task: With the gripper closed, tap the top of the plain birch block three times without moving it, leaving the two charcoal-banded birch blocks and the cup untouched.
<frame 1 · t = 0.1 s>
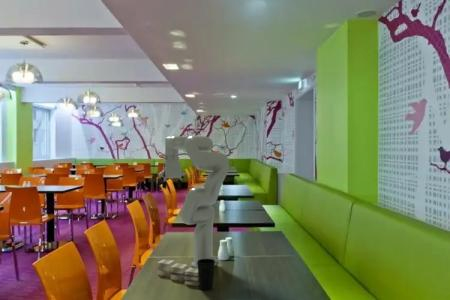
hand: (171, 187, 244), 37 cm above the table, tool pointing down, fingers open, 9 cm apart
banded block one: (179, 278, 198), on the table
cup: (206, 289, 184), on the table
banded block two: (193, 283, 191), on the table
plain block: (165, 273, 204), on the table
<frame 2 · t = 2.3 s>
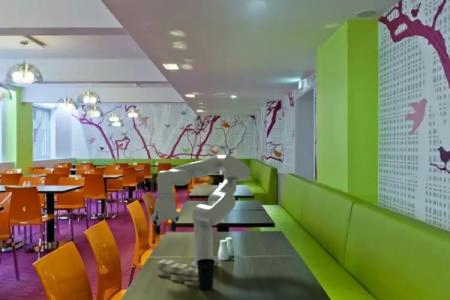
hand: (165, 232, 204), 20 cm above the table, tool pointing down, fingers open, 8 cm apart
nothing on the table moved.
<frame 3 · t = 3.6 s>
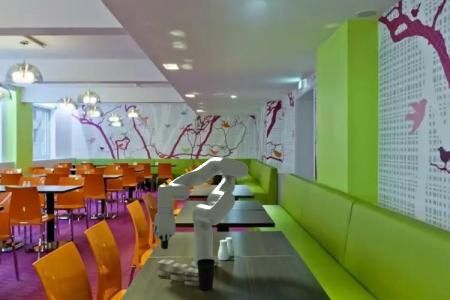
hand: (164, 248, 204), 12 cm above the table, tool pointing down, fingers closed
nothing on the table moved.
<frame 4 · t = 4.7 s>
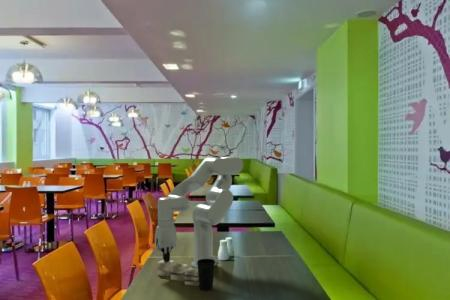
hand: (166, 260, 204), 6 cm above the table, tool pointing down, fingers closed
nothing on the table moved.
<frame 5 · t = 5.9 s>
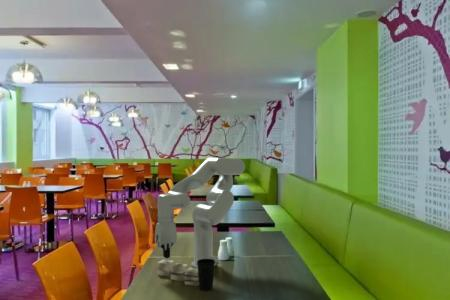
hand: (166, 257, 204), 8 cm above the table, tool pointing down, fingers closed
nothing on the table moved.
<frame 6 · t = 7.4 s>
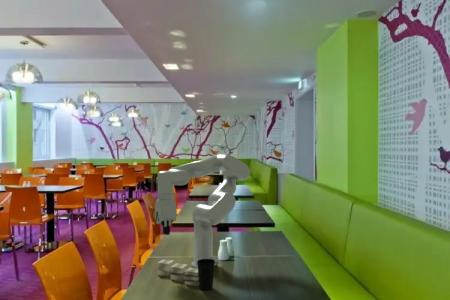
hand: (166, 234, 204), 19 cm above the table, tool pointing down, fingers closed
nothing on the table moved.
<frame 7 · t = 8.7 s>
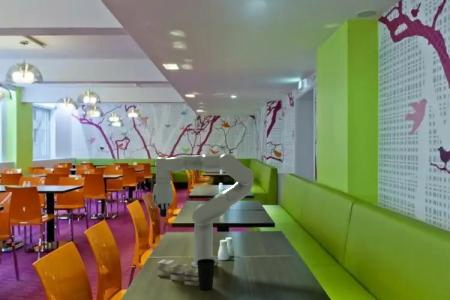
hand: (163, 216, 219), 25 cm above the table, tool pointing down, fingers closed
nothing on the table moved.
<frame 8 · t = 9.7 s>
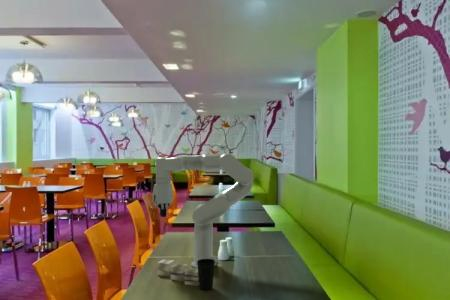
hand: (163, 216, 219), 25 cm above the table, tool pointing down, fingers closed
nothing on the table moved.
at the end: plain block moved 0.1 cm from its start; plain block tilted 0°; banded block one moved 0.1 cm from its start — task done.
